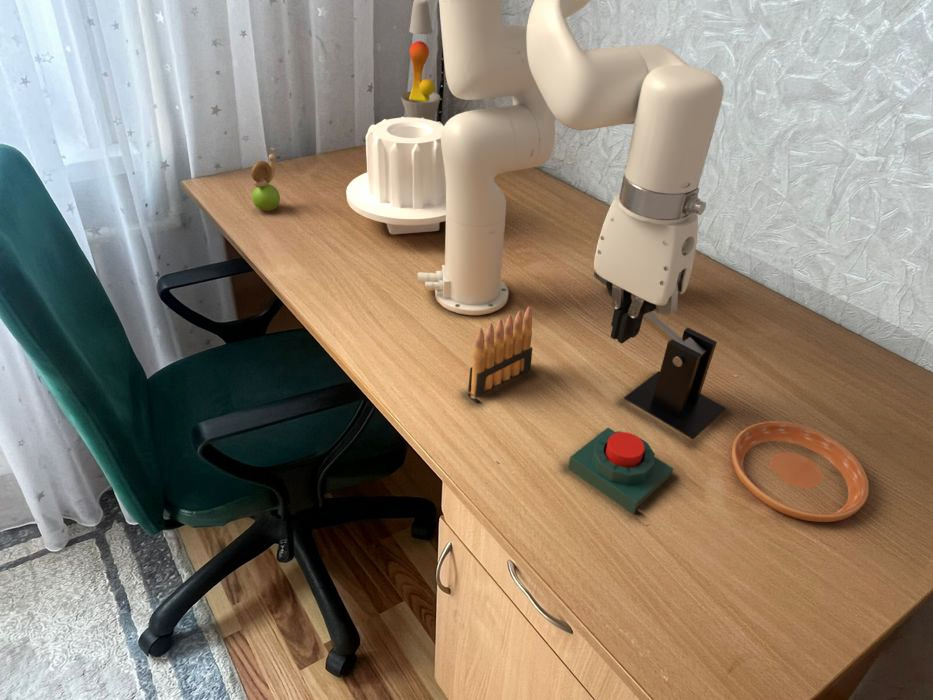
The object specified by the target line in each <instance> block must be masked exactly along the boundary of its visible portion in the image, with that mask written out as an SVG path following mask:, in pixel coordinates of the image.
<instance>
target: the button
mask: <svg viewBox="0 0 933 700" xmlns="http://www.w3.org/2000/svg"><path fill="white" fill-rule="evenodd" d="M635 435H636V434H634V435H633V433H630V432H625V431H620V432H618V433H615V434H613V435H611V436H610V437H609V439H608V443H607V448H606V456H607V458H608V459H609V460H610V461H611V462H612V463H614V464H615V465H617V466H621V467H626V468H631V467H635V466H637V465H638V464H639V463H640V462H641V460H642V456H643V453H644V444H643V442H642V441H641V439H642V438H641V437H639V436H638V437H639V438H638V437H637V435H636V436H635ZM640 438H641V439H640Z"/></svg>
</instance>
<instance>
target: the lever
mask: <svg viewBox="0 0 933 700" xmlns="http://www.w3.org/2000/svg"><path fill="white" fill-rule="evenodd" d="M634 296H635V295H634ZM633 299H634V297H633ZM632 301H633V300H632ZM614 310H615V309H614V308H613V311H614ZM642 320H643V321H644V322H646V323H647V324H648V325H649V326H650V327H651V328H653V329H654V330H655V331H656V332H657V333H658V334H659V335H661V336H662V337H663V338H664V340H666V341H667V343H668V342H669V341H670V340H671V339H673V340H675V341H677V342H679V343H681V344H682V345H684V346H686V347H688V348H690V349H692V350H694V351H696V352H698V353H700V354H701V357H702V356H703V354H704V353H705V352H706V350H704V349H703V348H702V347H701V346H700V345H699V344H697V343H696V342H695V341H694V340H693V339H692V338H691V337H689V338H688V339H687V340H685V341H684V340H682V337H680V336H679V335H678V334H677V333H676V332H675V331H674V330H672V329H671V328H670V327H669V326H668V325H667V324H665V322H663V321H662V320H661V319H660V318H659V317H658V316H656V315H655V314H654V313H653V311H652V312H649V313H646V314H644V315H643V319H642ZM701 357H700V358H701Z"/></svg>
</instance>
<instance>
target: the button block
mask: <svg viewBox="0 0 933 700" xmlns="http://www.w3.org/2000/svg"><path fill="white" fill-rule="evenodd" d="M618 432H621V431H619V430H618V431H617V430H615V431H614V430H613V429H611V428H610V427H606V428H605V429H604V430H603V431H601V432H600V433H599V434H597V435H596V436H595V437H594V438H592V439H591V440H589V442H587V443H586V444H585V445H584V446H582V447H581V448H579V450H577V451H576V452H575V453H573V454H572V455H570V457H569V462H568V466H567V469H568V470H569V471H571V472H572V474H575V475H576V476H577V477H579V478H580V479H582V480H583V481H585V482H586V483H587V484H589V485H590V486H592V487H593V488H594V489H596V490H597V491H599V492H601V493H602V494H603V495H605V496H606V497H608V498H609V499H610V500H612V501H613V502H615V503H616V504H618V506H620V507H622V508H624V509H625V510H626V511H628V512H629V513H631V514H632V515H635V514H636V513H637V512H639V510H638V509H637V508H638V507H639V506H641V505H642V503H644V502H645V501H646V500H647V499H649V498H650V496H651V495H653V494H654V493H655V491H656V490H657V489H659V488H660V487H661V486H662V485H663V484H664V483H665V482H666V481H668V479H669V478H670V477H672V475H673V472H674V468H673V467H672V466H670V465H669V464H668V463H666V462H664V461H662V460H660V459H659V458H657V457H655V456H656V453H655V452H654V451H653V448H651V447H652V446H650V444H649V443H648V441H646V440H644V439H642V438H641V437H639V436H637V435H636V434H633V433H632V434H633V435H635V436H637V437H638V438H640V439H641V441H642V442H643V444H644V453H643V456H642V460H641V462H640V463H639V464H638V465H637V466H635V467H631V468H626V467H621V466H617V465H615V464H614V463H612V462H611V461H610V460H609V459H608V458H607V456H606V448H607V443H608V439H609V437H610V436H611V435H613V434H615V433H618Z"/></svg>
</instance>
